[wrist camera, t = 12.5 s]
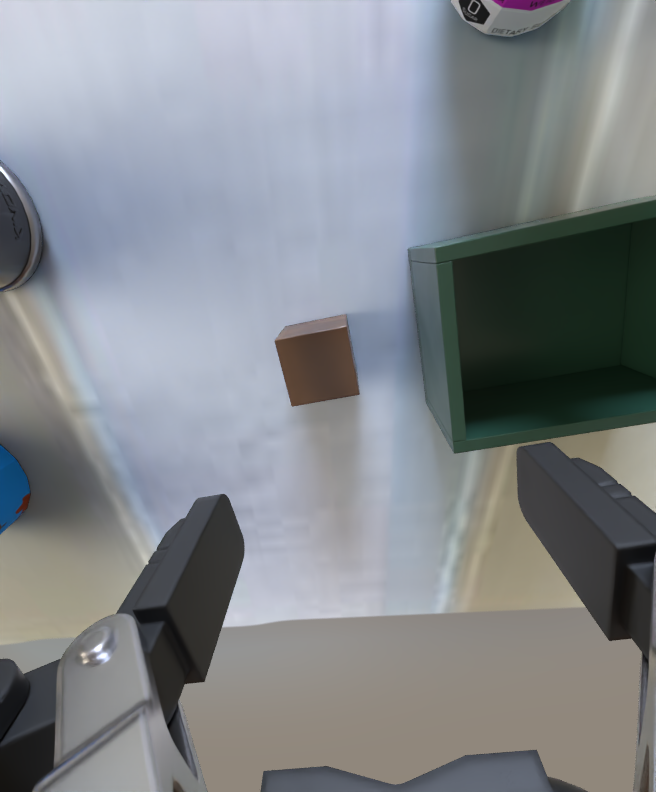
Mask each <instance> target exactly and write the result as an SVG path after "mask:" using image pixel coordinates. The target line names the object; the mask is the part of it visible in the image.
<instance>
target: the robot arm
mask: <svg viewBox="0 0 656 792" xmlns="http://www.w3.org/2000/svg"><path fill="white" fill-rule="evenodd" d="M41 252H42V231H41V225H40V220H39V217H38V214H37V211H36V208H35V206H34V204H33V202H32V200H31V198H30V196H29V194H28V192H27V191H26V189H25V188H24V186H23V185H22V183H21V182H20V181H19V179H18V178H17V177H16V176H15V174H14V173H13V172H12V171H11V170H10V169H9V168H8V167H7V166H6V165H5V164H4V163H2V162H1V161H0V292H4V291H9V290H12V289H15V288H17V287H19V286H20V285H22V284H24V283H25V282H26V281H27V280H28V279H29V278H30V277H31V276H32V274H33V273H34V272H35V270H36V268H37V266H38V263H39V261H40V257H41ZM517 483H518V500H519V504H520V508H521V511H522V513H523V515H524V517H525V519H526V521H527V522H528V524H529V525H530V527H531V528H532V530H533V531H534V533H535V534H536V535H537V537H538V538H539V540H540V541H541V543H542V544H543V546H544V547H545V548H546V550H547V551H548V553H549V554H550V556H551V557H552V559H553V560H554V561H555V563H556V564H557V566H558V567H559V569H560V570H561V572H562V573H563V575H564V576H565V577H566V579H567V580H568V582H569V583H570V585H571V586H572V588H573V589H574V590H575V592H576V593H577V595H578V596H579V598H580V599H581V601H582V602H583V604H584V605H585V606H586V608H587V609H588V611H589V612H590V614H591V615H592V617H593V618H594V619H595V621H596V622H597V624H598V625H599V627H600V628H601V630H602V631H603V632H604V634H605V635H606V637H607V638H608V640H609V641H612V640H621V639H631V638H632V639H633V641H634V642H635V643H636V645H637V646H638V647H639V649H640V650H641V651H642V654H641V661H640V681H639V701H638V702H639V703H638V722H637V741H636V760H635V773H634V784H633V792H656V513H655V512H654V511H652V510H651V509H650V508H649V507H648V506H646V505H645V504H644V503H643V502H642V501H640V500H639V499H638V498H637V497H635V496H632V495H631V492H629V491H628V490H627V489H626V488H625V487H623V486H622V485H621V484H618V483H617V481H616V480H615V479H614V478H613V477H611V476H610V475H609V474H608V473H607V472H605V471H604V470H603V469H602V468H601V467H598V466H596V465H594V464H592V463H589V462H587V461H585V460H583V459H580V458H572V459H570V458H569V457H568V456H566V455H565V454H564V453H563V452H562V451H561V450H560V449H559V448H558V447H557V446H555V445H554V444H553V443H551V442H546V443H540V444H534V445H528V446H521V447H519V448H518V449H517ZM243 558H244V539H243V535H242V533H241V530H240V527H239V524H238V522H237V519H236V516H235V514H234V511H233V508H232V506H231V503H230V500H229V498H228V497H227V495H225V494H220V495H214V496H208V497H202V498H198V499H197V500H196V501H195V502H194V504H193V506H192V508H191V509H190V511H189V513H188V514H187V516H186V518H184V519H180V520H179V521H178V522H177V523H176V524H175V525H174V526H173V527H172V528H171V529H170V530H169V531H168V532H167V533H166V534H165V536H164V537H163V539H162V540H161V542H160V544H159V545H158V547H157V551H155V552H154V553H153V555H152V557H151V558H150V560H149V561H148V562H149V564H148V565H146V566H145V568H144V569H143V571H142V573H141V574H140V576H139V578H138V579H137V581H136V582H135V584H134V586H133V587H132V589H131V590H130V592H129V594H128V595H127V597H126V598H125V600H124V602H123V603H122V605H121V606H120V608H119V610H118V611H117V613H116V614H114V615H111V616H108V617H105V618H103V619H101V620H99V621H97V622H96V623H94V624H93V625H91V626H90V627H88V628H87V629H86V630H84V631H83V632H82V633H81V634H80V635H79V636H78V637H77V638H76V639H75V640H74V641H73V642H72V643H71V645H70V646H69V647H68V648H67V650H66V651H65V653H64V654H63V656H62V658H61V659H59V660H56V661H54V662H51V663H49V664H47V665H44V666H42V667H40V668H37V669H35V670H32V671H30V672H27V673H25V674H23V673H22V672H21V670H20V669H19V668H18V666H17V665H16V664H15V662H14V661H12V660H10V659H0V792H207V788H206V785H205V782H204V778H203V775H202V771H201V768H200V764H199V761H198V757H197V754H196V751H195V747H194V744H193V740H192V737H191V733H190V730H189V727H188V723H187V720H186V716H185V713H184V709H183V706H182V704H181V702H180V700H179V698H180V695H181V693H182V689H183V687H184V684H187V683H197V682H204V681H205V678H206V675H207V672H208V669H209V666H210V663H211V659H212V656H213V653H214V650H215V647H216V644H217V641H218V637H219V634H220V631H221V628H222V625H223V622H224V619H225V615H226V612H227V609H228V606H229V603H230V600H231V596H232V593H233V590H234V587H235V584H236V581H237V578H238V574H239V571H240V568H241V565H242V562H243ZM261 792H588V791H586V790H583V789H582V788H580V787H577V786H575V785H572V784H569V783H567V782H564V781H562V780H559V779H555V778H551V777H547V775H546V773H545V770H544V767H543V765H542V762H541V760H540V757H539V755H538V752H537V750H529V751H515V752H503V753H491V754H479V755H478V754H477V755H465V756H463V757H461V758H459V759H457V760H454V761H452V762H450V763H448V764H446V765H443V766H441V767H439V768H436V769H435V770H432V771H430V772H428V773H426V774H423V775H421V776H419V777H416V778H414V779H412V780H410V781H408V782H405V783H403V784H397V785H393V784H388V783H385V782H381V781H378V780H374V779H370V778H367V777H363V776H360V775H356V774H353V773H349V772H346V771H342V770H339V769H335V768H331V767H328V766H324V767H310V768H299V769H285V770H272V771H264V772H263V779H262V786H261Z"/></svg>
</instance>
